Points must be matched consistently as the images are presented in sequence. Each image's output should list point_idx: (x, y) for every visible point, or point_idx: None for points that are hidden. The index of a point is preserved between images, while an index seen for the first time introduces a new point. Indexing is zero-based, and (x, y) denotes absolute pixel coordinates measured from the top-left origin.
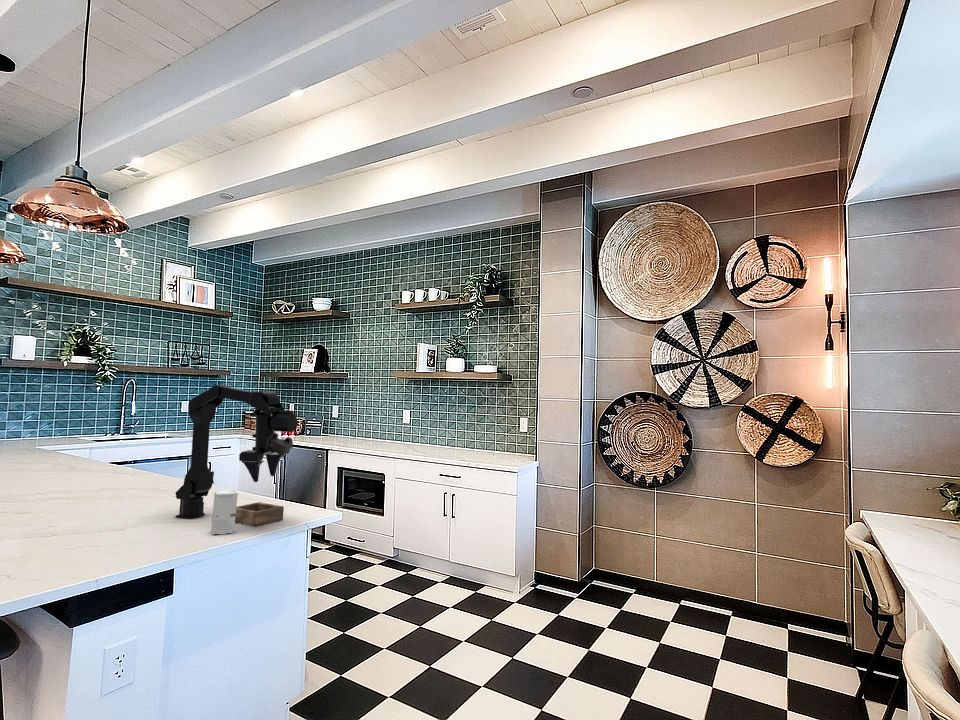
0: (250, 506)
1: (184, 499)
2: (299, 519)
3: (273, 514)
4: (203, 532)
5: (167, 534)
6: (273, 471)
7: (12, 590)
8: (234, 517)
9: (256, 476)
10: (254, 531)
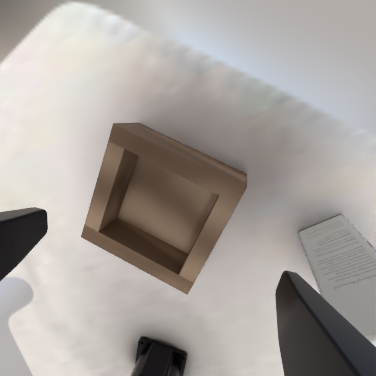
0: (130, 245)
1: None
2: (114, 69)
3: (169, 144)
4: None
5: None
6: (9, 230)
7: None
8: (367, 241)
9: (340, 321)
10: (304, 158)
